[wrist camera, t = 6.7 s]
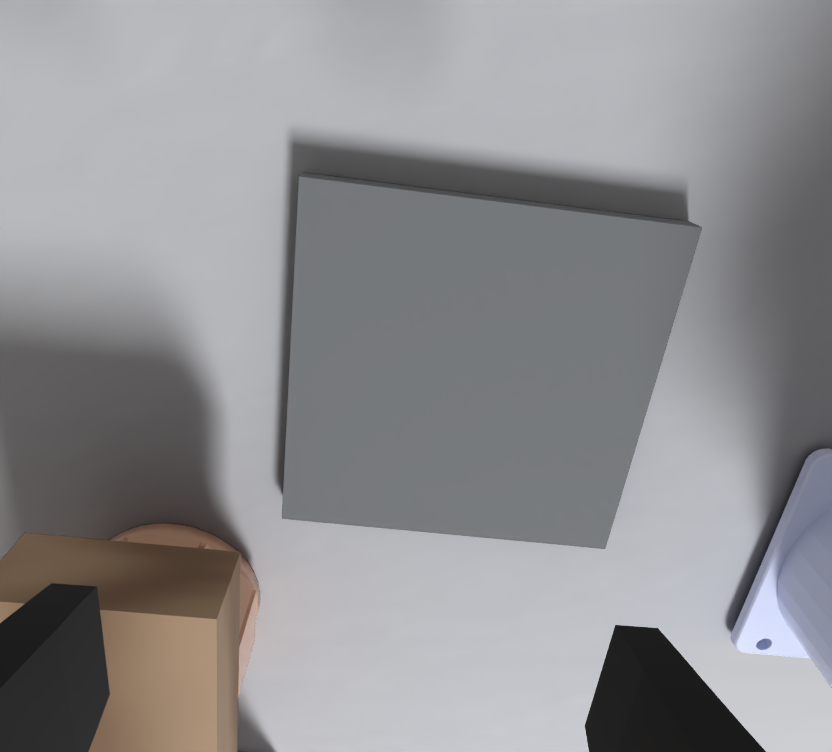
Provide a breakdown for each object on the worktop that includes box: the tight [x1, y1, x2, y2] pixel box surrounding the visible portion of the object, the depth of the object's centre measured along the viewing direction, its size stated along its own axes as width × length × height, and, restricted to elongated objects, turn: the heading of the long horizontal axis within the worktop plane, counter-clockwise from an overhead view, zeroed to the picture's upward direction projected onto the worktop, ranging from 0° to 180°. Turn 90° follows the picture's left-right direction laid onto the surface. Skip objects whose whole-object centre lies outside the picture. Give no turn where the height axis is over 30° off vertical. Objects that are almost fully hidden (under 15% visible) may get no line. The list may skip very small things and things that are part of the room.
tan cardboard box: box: [0, 533, 241, 752], centre depth 18 cm, size 6×8×2 cm, turn 173°
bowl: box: [111, 523, 260, 698], centre depth 20 cm, size 6×6×3 cm
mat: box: [282, 173, 702, 549], centre depth 18 cm, size 10×10×1 cm
